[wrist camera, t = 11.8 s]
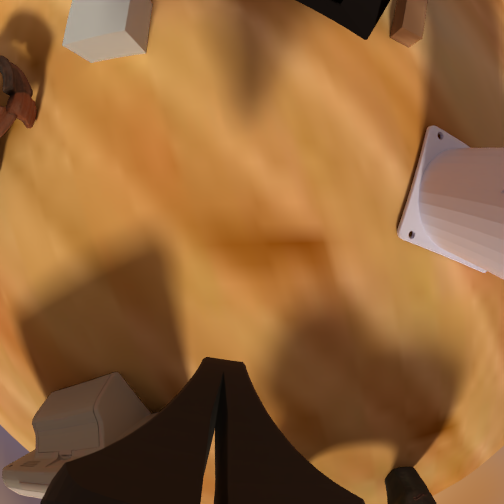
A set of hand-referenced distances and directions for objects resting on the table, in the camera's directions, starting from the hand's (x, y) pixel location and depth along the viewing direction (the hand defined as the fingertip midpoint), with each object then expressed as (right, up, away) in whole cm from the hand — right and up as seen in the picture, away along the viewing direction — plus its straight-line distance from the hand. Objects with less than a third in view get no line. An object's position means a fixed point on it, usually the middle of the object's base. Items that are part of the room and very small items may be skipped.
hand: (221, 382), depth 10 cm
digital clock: (-11, -10, +13) cm, 20 cm away
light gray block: (-7, +19, +5) cm, 21 cm away
